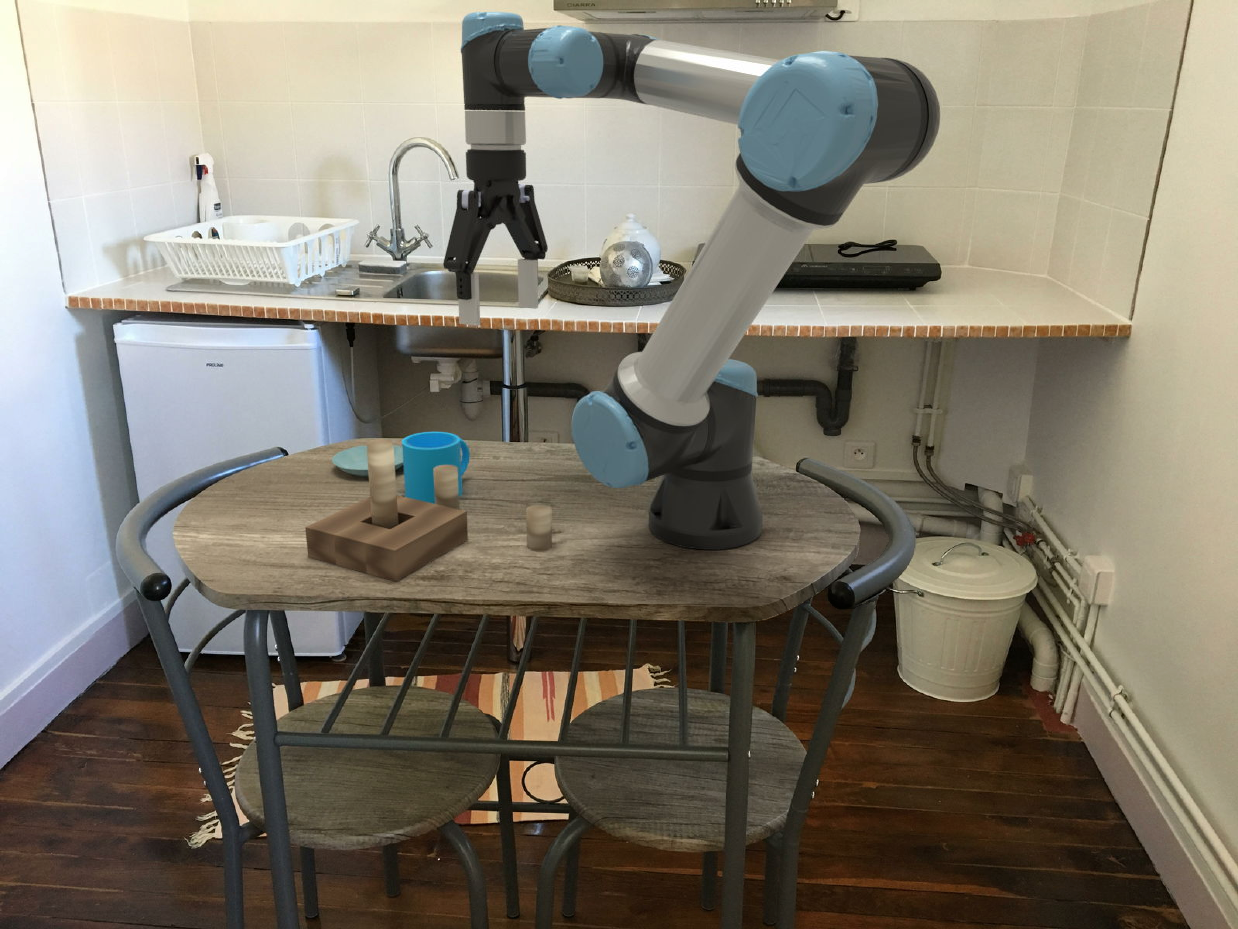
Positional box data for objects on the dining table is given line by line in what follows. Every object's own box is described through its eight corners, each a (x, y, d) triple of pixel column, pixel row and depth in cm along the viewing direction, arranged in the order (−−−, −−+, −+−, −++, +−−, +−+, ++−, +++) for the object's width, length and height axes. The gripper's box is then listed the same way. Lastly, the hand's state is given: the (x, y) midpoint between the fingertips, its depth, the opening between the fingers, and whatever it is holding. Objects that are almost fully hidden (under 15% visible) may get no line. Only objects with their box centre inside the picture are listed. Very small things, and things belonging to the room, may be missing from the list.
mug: (436, 508, 141) (433, 453, 138) (393, 497, 145) (389, 442, 142) (490, 483, 150) (488, 431, 148) (448, 473, 154) (445, 422, 152)
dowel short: (556, 544, 130) (556, 508, 128) (543, 553, 127) (542, 516, 125) (535, 539, 131) (535, 503, 129) (522, 548, 128) (521, 511, 127)
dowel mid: (464, 515, 138) (462, 467, 136) (450, 523, 136) (447, 474, 133) (445, 510, 140) (443, 463, 137) (431, 518, 137) (428, 470, 135)
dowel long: (405, 546, 128) (398, 441, 124) (388, 555, 126) (381, 448, 121) (385, 540, 130) (378, 437, 125) (368, 549, 127) (360, 444, 123)
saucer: (354, 488, 148) (353, 474, 147) (320, 467, 156) (318, 453, 156) (425, 471, 155) (424, 457, 154) (389, 452, 164) (388, 439, 163)
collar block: (467, 539, 130) (466, 511, 129) (396, 581, 119) (394, 550, 117) (383, 519, 137) (381, 491, 135) (308, 557, 125) (305, 527, 124)
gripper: (525, 144, 139) (527, 298, 146) (407, 149, 118) (417, 329, 125) (572, 145, 135) (572, 303, 142) (460, 151, 115) (467, 335, 122)
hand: (500, 315), depth 134 cm, fingers open, 13 cm apart
